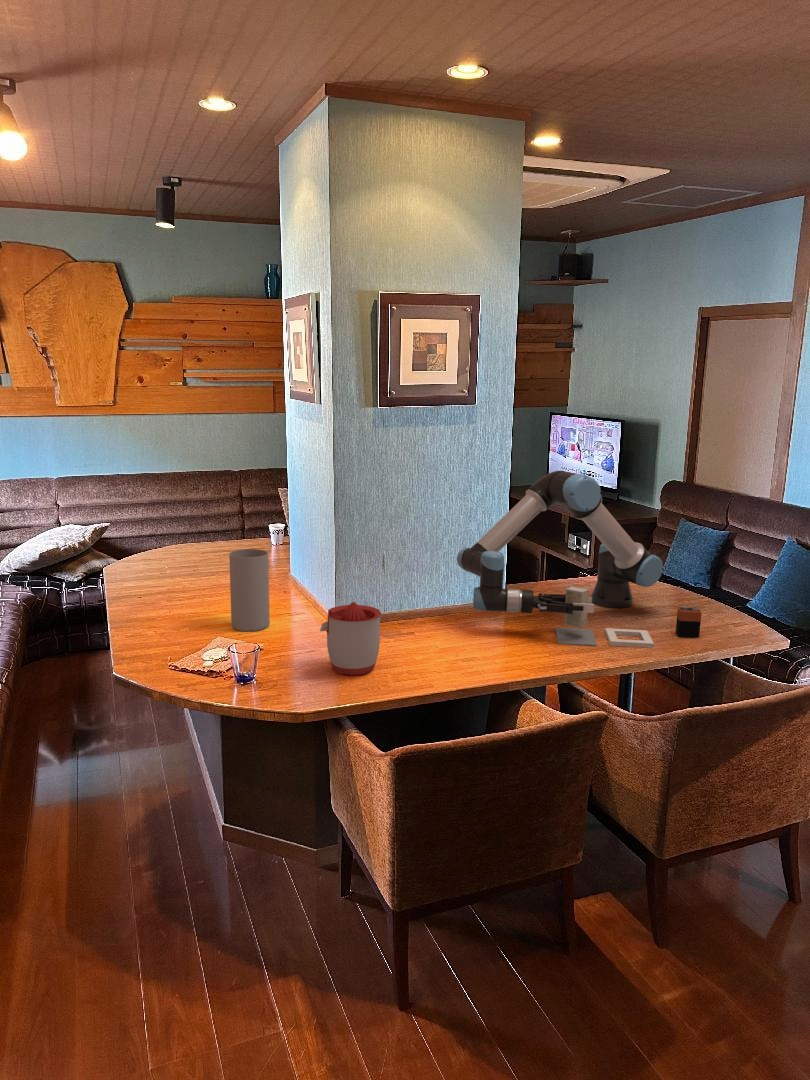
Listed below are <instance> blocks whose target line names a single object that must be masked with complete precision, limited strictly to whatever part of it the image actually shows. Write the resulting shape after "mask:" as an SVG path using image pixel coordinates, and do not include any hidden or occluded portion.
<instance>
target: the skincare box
mask: <svg viewBox="0 0 810 1080" xmlns="http://www.w3.org/2000/svg"><path fill="white" fill-rule="evenodd" d="M565 594H566V601H565V603H570V604H573V603H585V604H588V598H589V589H588V588H582V587H577V586H573V585H572V586H570V587H567V588H565ZM564 625H566V626H571V627H573V628H579V629H583V628H584V627H586V626H588V612H573V614H568V613H564Z"/></svg>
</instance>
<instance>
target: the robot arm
mask: <svg viewBox="0 0 810 1080" xmlns="http://www.w3.org/2000/svg"><path fill="white" fill-rule="evenodd" d="M601 492H602V491H601V487H600V484H599V483H598V481H597V480H595V478H593V477H591V476H589V475H587V474H583V473H576V472H575V473H574V472H569V471H565V470H555V471H551V472H549V473H547V474H546V475H544V476H542V477H540V478H539V479H538V480H536V481H535V482H534V483H533V484H532V485H531V486H530V487H529V488H528V489H526V491H525V495H524V497H523V498H521V499H520V501H518V502H517V503H516V504H515V505H514V506H513V507H512V508H511V509H510V510H509V511H508V512H506V514H505V515H504V516H502V518H501V519H499V521H498V522H497V523H496V524H494V525H493V526H492V527H491V528H489V530H488V531H487V532H486V533H485V534H484V535H483V536H482V537H481V538H480V539H478V541H476V542H475V543H474V544H473V545H472V546H471V547H464V548H461V549H460V550H459V552H458V553H457V556H456V562H457V565H458V567H459V568H461V569H462V570H464V571H465V572H469V573H471V574H473V575H474V576H477V577H479V586H478V587H477V586H476V587H474V589H473V593H472V594H473V597H472V608H473V609H475V610H477V611H485V612H504V613H505V612H507V613H509V614H513V613H519V612H520V613H522V614H532V613H533V609H538V610H539V612H541V613H542V612H545V613H546V612H549V613H557V614H558V613H559V614H565V613H568V614H573V612H588V613H590V614H592V613H593V614H594V612H595V605H597V606H600V607H604V608H613V609H619V608H628V607H631V606H632V605H633V602H634V601H633V599H634V597H633V594H632V590H631V585H630V583H632V584H634V585H637V586H639V587H645V588H648V587H652V586H654V585H656V583H657V582H658V581H659V580H660V578H661V575H662V573H663V567H664V566H663V561H662V559H661V558H660V557H659V556H657V555H656V554H652V553H650V552H649V551H648V550H647V549H646V547H644V545H643V544H642V543H640V542H635V541H634V540H633V539H632V538H631V536H630V535H629V534H628V533H627V531H625V529H624V528H623V527H622V526H621V524H620V523H619V522H618V521H617V519H616V518H615V517H614V516H613V515H612V514H611V513H610V511H609V510H608V509H607V507H605V506H604V504H603V503H602V502H603V497H602V494H601ZM556 505H558V506H562V507H564V509H566V510H567V511H568V512H569V513H570V514H571V516H573V518H575V519H577V520H581V521H583V522H584V523H585V525H586V526H587V527H588V529H590V531H591V532H592V533H593V534H594V535H595V537H596V538H597V539H598V540H599V541H600V542H601V544H600V545H599V549H598V550H599V551H598V561H597V563H598V564H597V578H596V579H597V581H596V583H595V586H594V588H593V590H592V592H591V596H590V597H588V604H585V603H573V604H570V603H565V601H566V593H563V594H561V593H557V594H556V593H542V592H539V593H538V594H537V595H534V591H533V590H532V589H522V590H520V589H516V588H503V586H504V574H505V573H504V572H505V555H504V554H503V552H501V550H502V549H503V548H504V547H505V546H507V544H508V543H510V541H511V540H513V539H514V537H516V536H517V535H518V534H519V533H520V532H521V531H522V530H523V529H524V528H525V527H526V526H527V525H528V524H529V523H530V522H531V521H532V520H534V518H535V517H537V516H538V514H540V513H541V512H546V511H547V510H548V509H550V507H552V506H556Z"/></svg>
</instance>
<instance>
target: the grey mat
mask: <svg viewBox="0 0 810 1080" xmlns="http://www.w3.org/2000/svg"><path fill="white" fill-rule="evenodd" d="M554 630H555V633H556V634H557V635H556V634H555V635H556V638H557V644H558V645H563V644H569V645H568V646H581V645H590V646H589V647H597V646H598V645H597V644H598V643H597V640H596V637H595V634H594V632H593V629H592V628H578V627H558V626H557V627H555V628H554Z"/></svg>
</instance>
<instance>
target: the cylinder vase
mask: <svg viewBox="0 0 810 1080" xmlns="http://www.w3.org/2000/svg"><path fill="white" fill-rule="evenodd" d="M228 556H229V557H228V558H229V559H228V560H229V585H230V586H229V587H230V591H229V593H230V618H231V620H230V624H231V627H232V628H233V629H234V628H235V629H234V630H236V629H237V630H236V631H239V630H241V631H240V632H247V631H250V632H259V631H262V630H265V629H267V628H268V627H269V626H270V622H271V621H270V582H269V581H270V577H269V576H270V575H269V573H270V572H269V571H270V569H269V566H270V565H269V552H268V550H264V549H259V548H258V549H257V548H245V549H244V548H243V549H237V550H233V551H230V552H229V555H228Z"/></svg>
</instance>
